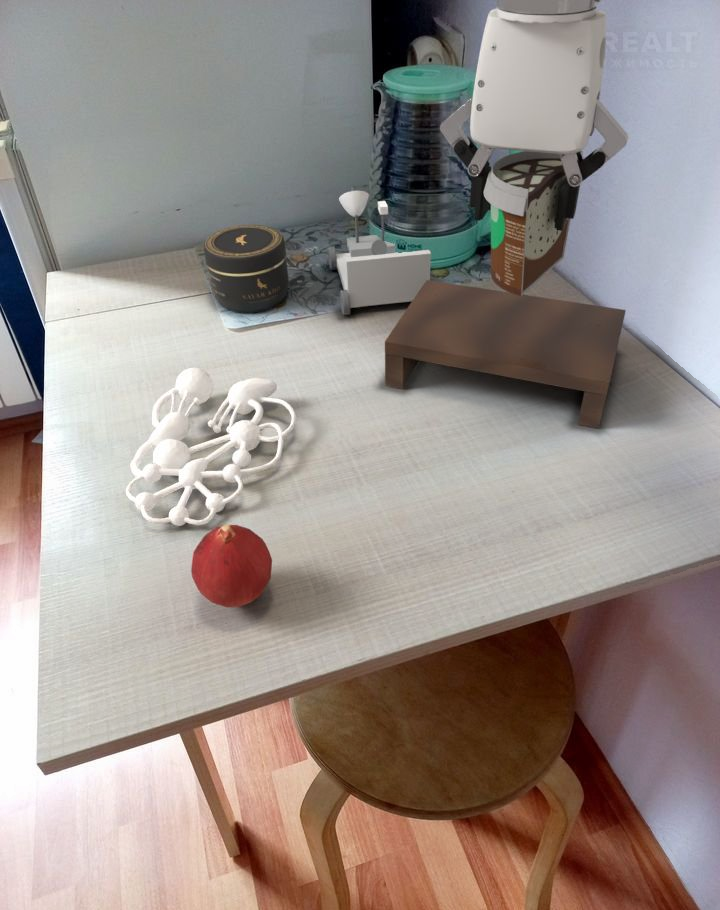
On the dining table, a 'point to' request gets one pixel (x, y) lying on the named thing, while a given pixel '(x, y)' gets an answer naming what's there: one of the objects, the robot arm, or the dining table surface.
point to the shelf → (508, 340)
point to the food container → (525, 218)
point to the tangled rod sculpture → (176, 455)
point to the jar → (247, 267)
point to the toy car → (376, 264)
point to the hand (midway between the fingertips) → (520, 218)
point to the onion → (231, 566)
